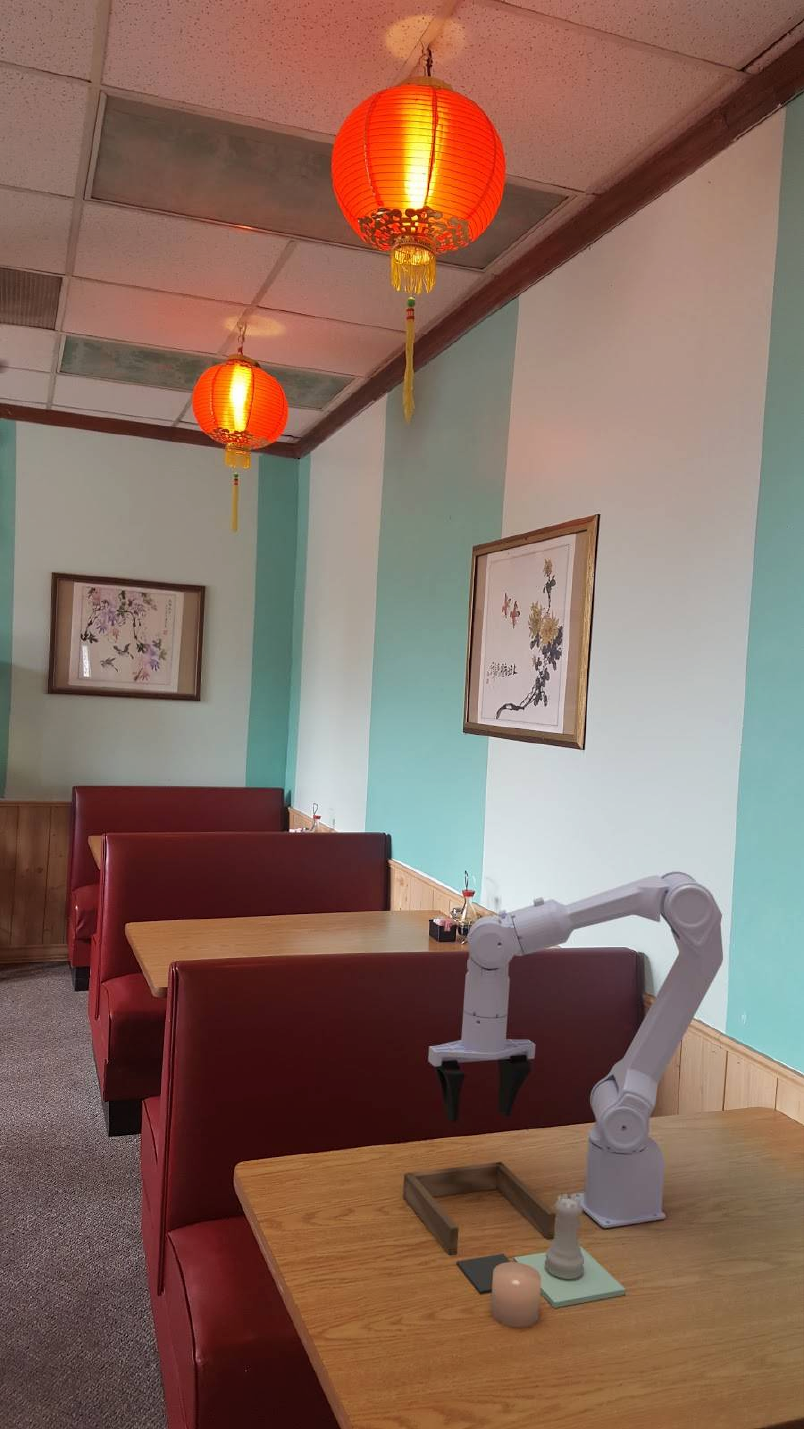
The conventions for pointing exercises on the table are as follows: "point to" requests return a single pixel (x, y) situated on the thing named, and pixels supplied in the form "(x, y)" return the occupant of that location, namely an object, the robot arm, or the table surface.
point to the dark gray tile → (481, 1270)
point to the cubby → (471, 1179)
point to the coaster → (574, 1282)
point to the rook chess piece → (566, 1241)
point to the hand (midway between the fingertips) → (478, 1115)
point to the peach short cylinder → (515, 1294)
